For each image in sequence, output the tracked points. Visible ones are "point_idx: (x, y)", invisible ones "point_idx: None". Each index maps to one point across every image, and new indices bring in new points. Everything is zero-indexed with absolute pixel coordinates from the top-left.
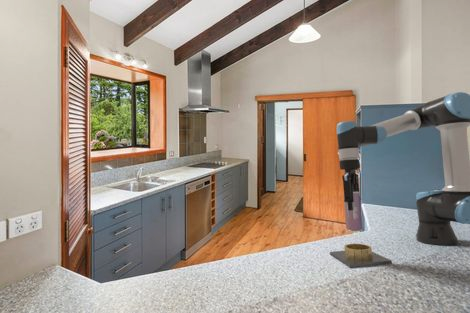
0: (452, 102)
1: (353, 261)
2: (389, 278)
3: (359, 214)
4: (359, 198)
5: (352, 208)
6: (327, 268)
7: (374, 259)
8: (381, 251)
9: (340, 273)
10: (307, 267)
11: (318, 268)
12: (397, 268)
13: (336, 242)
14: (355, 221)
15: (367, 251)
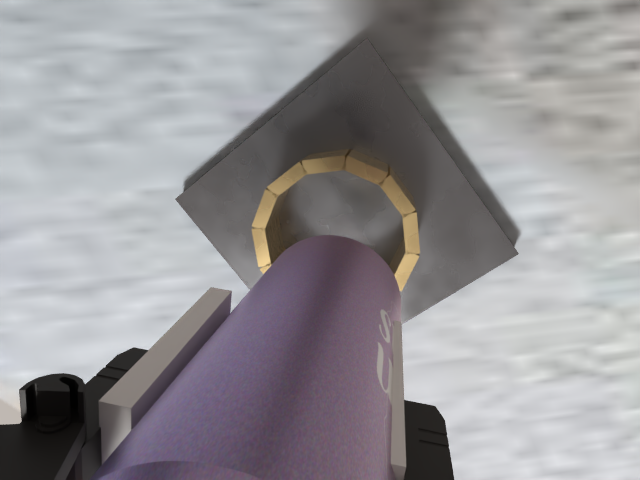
0: None
1: (458, 240)
2: (633, 40)
3: (357, 301)
4: (283, 420)
5: (415, 420)
6: (556, 347)
7: (380, 135)
8: (138, 112)
9: (618, 281)
10: (569, 433)
11: (569, 385)
12: (442, 6)
13: (66, 363)
14: (395, 312)
15: (391, 175)
